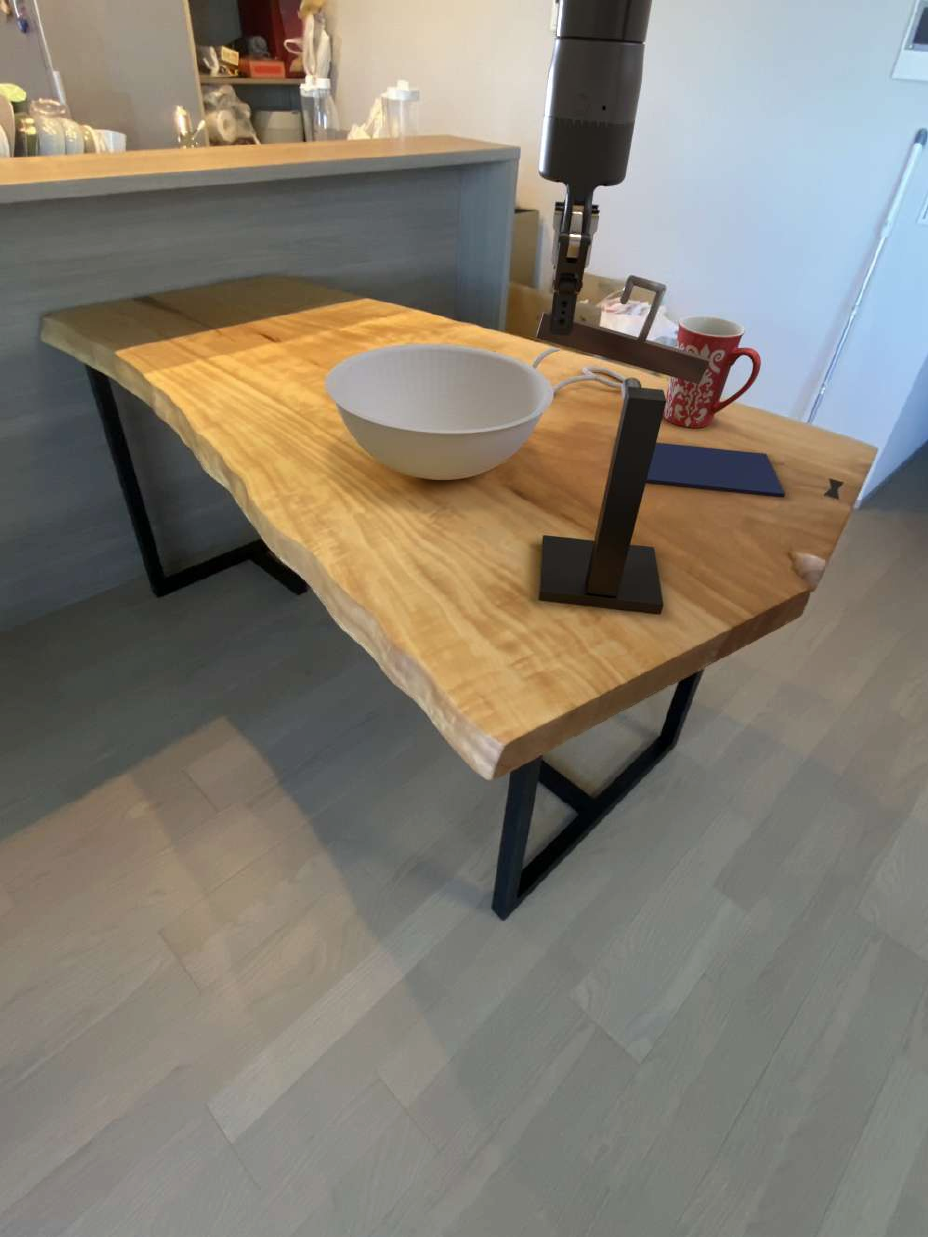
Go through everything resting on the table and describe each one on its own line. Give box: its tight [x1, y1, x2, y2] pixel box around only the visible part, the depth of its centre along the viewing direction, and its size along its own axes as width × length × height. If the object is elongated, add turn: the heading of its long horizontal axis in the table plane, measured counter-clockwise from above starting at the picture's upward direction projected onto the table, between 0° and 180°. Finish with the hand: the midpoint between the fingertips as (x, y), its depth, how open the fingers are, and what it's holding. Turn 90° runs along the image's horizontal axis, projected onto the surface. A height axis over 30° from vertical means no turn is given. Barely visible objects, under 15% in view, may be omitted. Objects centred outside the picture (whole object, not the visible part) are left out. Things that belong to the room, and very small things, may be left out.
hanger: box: [535, 274, 710, 384], centre depth 66 cm, size 17×1×8 cm, turn 84°
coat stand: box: [538, 377, 666, 615], centre depth 65 cm, size 12×10×21 cm
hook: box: [531, 347, 629, 394], centre depth 108 cm, size 7×9×20 cm
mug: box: [663, 315, 762, 429], centre depth 98 cm, size 13×9×14 cm
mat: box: [646, 442, 786, 498], centre depth 91 cm, size 20×11×1 cm, turn 83°
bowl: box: [324, 343, 555, 481], centre depth 86 cm, size 27×27×10 cm
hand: (560, 329), depth 68 cm, fingers closed on hanger, 1 cm apart
